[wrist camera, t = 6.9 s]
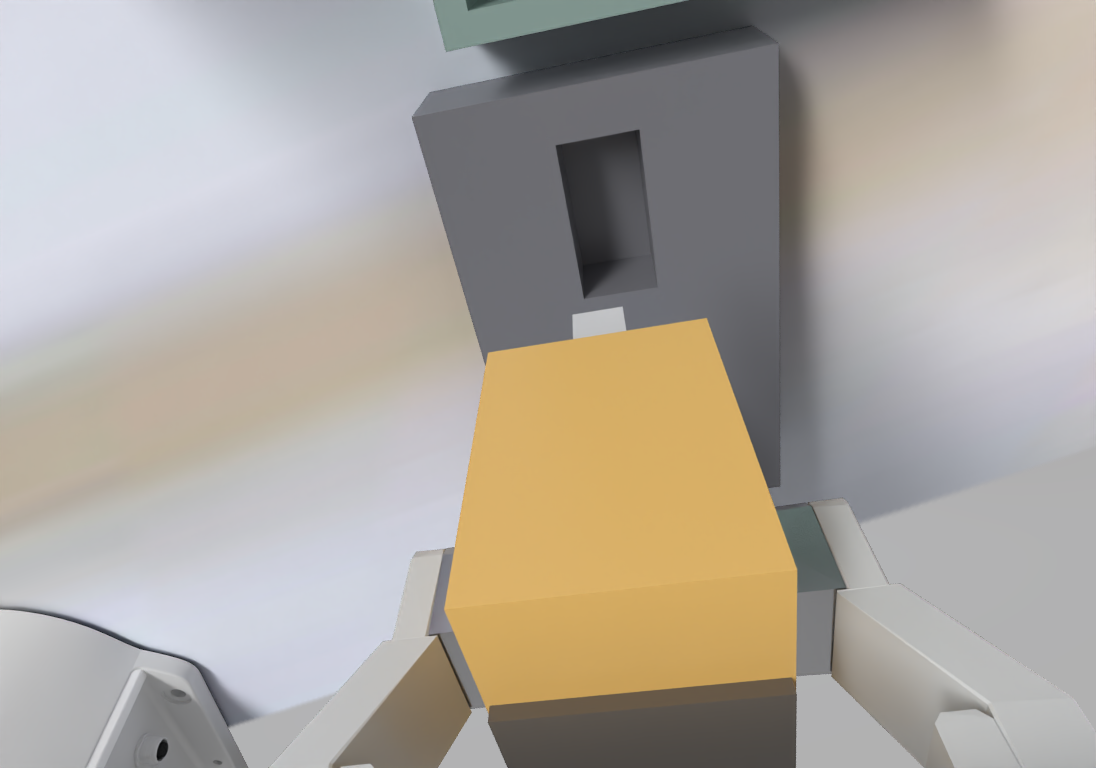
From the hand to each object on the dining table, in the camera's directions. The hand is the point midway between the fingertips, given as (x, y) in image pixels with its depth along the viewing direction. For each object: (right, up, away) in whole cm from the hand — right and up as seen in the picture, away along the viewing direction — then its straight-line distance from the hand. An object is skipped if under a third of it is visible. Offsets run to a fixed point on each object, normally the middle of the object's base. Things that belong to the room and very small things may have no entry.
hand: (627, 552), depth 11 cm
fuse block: (+1, +6, +15) cm, 16 cm away
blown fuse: (0, +3, +4) cm, 5 cm away
